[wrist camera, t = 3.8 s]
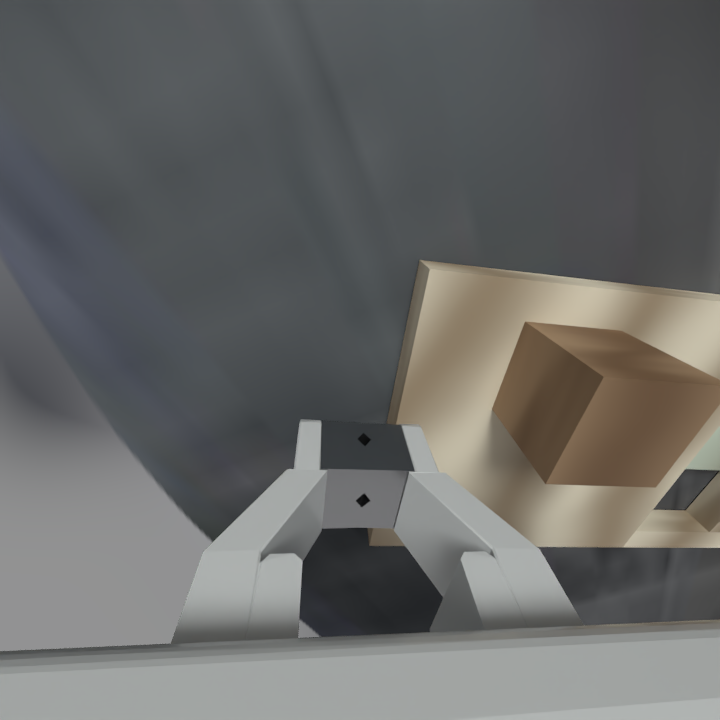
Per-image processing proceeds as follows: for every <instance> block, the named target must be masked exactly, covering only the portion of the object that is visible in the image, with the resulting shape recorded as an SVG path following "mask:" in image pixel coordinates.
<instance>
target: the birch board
mask: <svg viewBox="0 0 720 720" xmlns="http://www.w3.org/2000/svg"><path fill="white" fill-rule="evenodd" d="M525 321H526V322H536V323H547V324H557V325H568V326H578V327H589V328H599V329H610V330H620V331H623V332H625V333H627V334H629V335H631V336H633V337H635V338H637V339H639V340H641V341H643V342H645V343H647V344H649V345H651V346H653V347H655V348H657V349H659V350H661V351H663V352H665V353H667V354H669V355H671V356H673V357H675V358H677V359H679V360H681V361H683V362H685V363H687V364H689V365H691V366H693V367H695V368H697V369H699V370H701V371H703V372H705V373H707V374H709V375H711V376H713V377H715V378H717V379H719V380H720V295H719V294H710V293H702V292H693V291H684V290H676V289H667V288H658V287H649V286H641V285H632V284H623V283H615V282H606V281H597V280H589V279H580V278H571V277H562V276H554V275H545V274H536V273H528V272H519V271H510V270H502V269H493V268H484V267H475V266H467V265H458V264H449V263H441V262H432V261H423V260H419V265H418V270H417V275H416V280H415V285H414V290H413V295H412V300H411V305H410V310H409V315H408V320H407V325H406V330H405V335H404V340H403V345H402V350H401V355H400V360H399V364H398V369H397V374H396V379H395V384H394V389H393V394H392V399H391V404H390V409H389V414H388V419H387V424H398V425H399V424H419V425H420V426H421V428H422V430H423V433H424V435H425V438H426V440H427V443H428V445H429V448H430V450H431V453H432V456H433V458H434V461H435V463H436V466H437V468H438V471H439V472H441V473H446V474H448V475H449V476H450V477H451V478H452V479H454V480H455V481H456V482H457V483H459V484H460V485H461V486H462V487H463V488H465V489H466V490H467V491H468V492H470V493H471V494H472V495H473V496H475V497H476V498H477V499H478V500H479V501H481V502H482V503H483V504H484V505H486V506H487V507H488V508H489V509H491V510H492V511H493V512H494V513H495V514H497V515H498V516H499V517H500V518H502V519H503V520H504V521H505V522H507V523H508V524H509V525H510V526H511V527H513V528H514V529H515V530H516V531H518V532H519V533H520V534H521V535H523V536H524V537H525V538H526V539H527V540H529V541H530V542H531V543H532V544H534V545H535V546H536V547H669V548H720V471H719V472H718V474H717V475H716V476H715V477H714V478H713V479H712V481H711V482H710V483H709V484H708V485H707V486H706V487H705V489H704V490H703V491H702V492H701V493H700V494H699V495H698V497H697V498H696V499H695V500H694V501H693V502H692V504H691V505H690V506H689V507H688V508H687V509H686V510H653V509H654V507H655V506H656V505H657V504H658V502H659V501H660V500H661V499H662V497H663V496H664V495H665V494H666V492H667V491H668V490H669V489H670V487H671V486H672V485H673V484H674V482H675V481H676V480H677V479H678V477H679V476H680V475H681V474H682V472H683V471H684V470H685V469H697V470H720V405H719V406H718V407H717V409H716V410H715V411H714V413H713V414H712V415H711V416H710V418H709V419H708V420H707V422H706V423H705V424H704V426H703V427H702V428H701V430H700V431H699V432H698V433H697V435H696V436H695V437H694V439H693V440H692V441H691V443H690V444H689V445H688V446H687V448H686V449H685V450H684V452H683V453H682V454H681V456H680V457H679V458H678V459H677V461H676V462H675V463H674V465H673V466H672V467H671V469H670V470H669V471H668V472H667V474H666V475H665V476H664V478H663V479H662V480H661V482H660V483H659V484H658V485H657V487H656V488H652V487H619V486H586V485H554V484H545V483H544V481H543V480H542V479H541V477H540V476H539V474H538V473H537V472H536V470H535V469H534V467H533V466H532V465H531V463H530V462H529V460H528V459H527V458H526V456H525V455H524V453H523V452H522V451H521V449H520V448H519V446H518V445H517V444H516V442H515V441H514V439H513V438H512V436H511V435H510V434H509V432H508V431H507V429H506V428H505V427H504V425H503V424H502V422H501V421H500V420H499V418H498V417H497V415H496V414H495V413H494V411H493V410H492V407H493V405H494V402H495V399H496V397H497V394H498V391H499V389H500V386H501V384H502V381H503V378H504V376H505V373H506V370H507V368H508V365H509V362H510V360H511V357H512V355H513V352H514V349H515V347H516V344H517V341H518V339H519V336H520V333H521V331H522V328H523V326H524V323H525ZM368 537H369V546H405V545H404V544H403V542H402V541H401V540H400V538H399V537H398V535H397V534H396V533H395V531H394V529H391V528H368Z"/></svg>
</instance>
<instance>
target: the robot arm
mask: <svg viewBox="0 0 720 720" xmlns="http://www.w3.org/2000/svg"><path fill="white" fill-rule="evenodd" d="M326 528H391V529H394V531H395V533H396V534H397V535H398V537H399V538H400V540H401V541H402V542H403V544H404V545H405V546H406V548H407V549H408V550H409V552H410V553H411V554H412V556H413V557H414V558H415V560H416V561H417V563H418V564H419V565H420V567H421V568H422V569H423V571H424V572H425V573H426V575H427V576H428V577H429V579H430V580H431V582H432V583H433V584H434V586H435V587H436V588H437V590H438V591H439V592H440V594H441V595H442V596H443V600H442V602H441V605H440V607H439V609H438V611H437V614H436V616H435V618H434V620H433V623H432V625H431V627H430V632H423V633H401V634H378V635H356V636H333V637H313V638H298V630H299V613H300V596H301V579H302V562H303V560H304V559H305V557H306V555H307V554H308V552H309V551H310V549H311V547H312V546H313V544H314V542H315V541H316V539H317V537H318V536H319V534H320V533H321V530H322V529H326ZM0 720H720V620H699V621H677V622H655V623H632V624H609V625H585V626H584V625H583V623H582V621H581V620H580V618H579V616H578V615H577V613H576V611H575V609H574V608H573V606H572V604H571V602H570V601H569V599H568V597H567V596H566V594H565V592H564V590H563V589H562V587H561V585H560V584H559V582H558V580H557V578H556V577H555V575H554V573H553V572H552V570H551V568H550V566H549V565H548V563H547V561H546V559H545V558H544V556H543V554H542V553H541V551H540V549H538V548H537V547H536V546H535V545H534V544H532V543H531V542H530V541H529V540H527V539H526V538H525V537H524V536H523V535H521V534H520V533H519V532H518V531H516V530H515V529H514V528H513V527H511V526H510V525H509V524H508V523H507V522H505V521H504V520H503V519H502V518H500V517H499V516H498V515H497V514H495V513H494V512H493V511H492V510H491V509H489V508H488V507H487V506H486V505H484V504H483V503H482V502H481V501H479V500H478V499H477V498H476V497H475V496H473V495H472V494H471V493H470V492H468V491H467V490H466V489H465V488H463V487H462V486H461V485H460V484H459V483H457V482H456V481H455V480H454V479H452V478H451V477H450V476H449V475H448V474H446V473H441V472H439V471H438V468H437V466H436V463H435V461H434V458H433V456H432V453H431V450H430V448H429V445H428V443H427V440H426V438H425V435H424V433H423V430H422V428H421V426H420V425H419V424H399V425H398V424H374V423H356V422H341V421H326V420H322V422H321V421H320V420H305V419H301V420H300V423H299V431H298V439H297V447H296V456H295V464H294V469H287V470H286V471H285V472H284V473H283V474H282V475H281V476H280V477H279V478H278V479H277V480H276V481H275V482H274V483H273V484H271V485H270V486H269V487H268V488H267V489H266V490H265V491H264V492H263V493H262V494H261V495H260V496H259V497H258V498H257V499H256V500H255V501H254V502H253V503H252V504H251V505H250V506H249V507H248V508H247V509H246V510H245V511H244V512H243V513H242V514H241V515H240V516H239V517H238V518H237V519H236V520H235V521H234V522H233V523H232V524H231V525H230V526H229V527H228V528H227V529H226V530H225V531H224V532H223V533H222V534H221V535H220V536H219V537H218V538H217V539H216V540H214V541H213V542H212V543H211V544H210V545H209V546H208V547H207V548H206V549H205V550H204V551H203V553H202V556H201V559H200V562H199V565H198V568H197V571H196V573H195V576H194V579H193V582H192V585H191V588H190V590H189V593H188V596H187V599H186V602H185V605H184V608H183V611H182V613H181V616H180V619H179V622H178V625H177V628H176V631H175V633H174V636H173V639H172V642H171V644H153V645H131V646H110V647H109V646H108V647H87V648H86V647H85V648H64V649H41V650H18V651H0Z"/></svg>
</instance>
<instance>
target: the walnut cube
mask: <svg viewBox="0 0 720 720" xmlns="http://www.w3.org/2000/svg"><path fill="white" fill-rule="evenodd" d="M719 405H720V380H719V379H717V378H715V377H713V376H711V375H709V374H707V373H705V372H703V371H701V370H699V369H697V368H695V367H693V366H691V365H689V364H687V363H685V362H683V361H681V360H679V359H677V358H675V357H673V356H671V355H669V354H667V353H665V352H663V351H661V350H659V349H657V348H655V347H653V346H651V345H649V344H647V343H645V342H643V341H641V340H639V339H637V338H635V337H633V336H631V335H629V334H627V333H625V332H623V331H620V330H610V329H599V328H589V327H578V326H568V325H557V324H547V323H536V322H526V321H525V323H524V326H523V328H522V331H521V333H520V336H519V339H518V341H517V344H516V347H515V349H514V352H513V355H512V357H511V360H510V362H509V365H508V368H507V370H506V373H505V376H504V378H503V381H502V384H501V386H500V389H499V391H498V394H497V397H496V399H495V402H494V405H493V407H492V410H493V411H494V413H495V414H496V415H497V417H498V418H499V420H500V421H501V422H502V424H503V425H504V427H505V428H506V429H507V431H508V432H509V434H510V435H511V436H512V438H513V439H514V441H515V442H516V444H517V445H518V446H519V448H520V449H521V451H522V452H523V453H524V455H525V456H526V458H527V459H528V460H529V462H530V463H531V465H532V466H533V467H534V469H535V470H536V472H537V473H538V474H539V476H540V477H541V479H542V480H543V481H544V483H545V484H554V485H586V486H619V487H652V488H656V487H657V485H658V484H659V483H660V482H661V480H662V479H663V478H664V476H665V475H666V474H667V472H668V471H669V470H670V469H671V467H672V466H673V465H674V463H675V462H676V461H677V459H678V458H679V457H680V456H681V454H682V453H683V452H684V450H685V449H686V448H687V446H688V445H689V444H690V443H691V441H692V440H693V439H694V437H695V436H696V435H697V433H698V432H699V431H700V430H701V428H702V427H703V426H704V424H705V423H706V422H707V420H708V419H709V418H710V416H711V415H712V414H713V413H714V411H715V410H716V409H717V407H718V406H719Z"/></svg>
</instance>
